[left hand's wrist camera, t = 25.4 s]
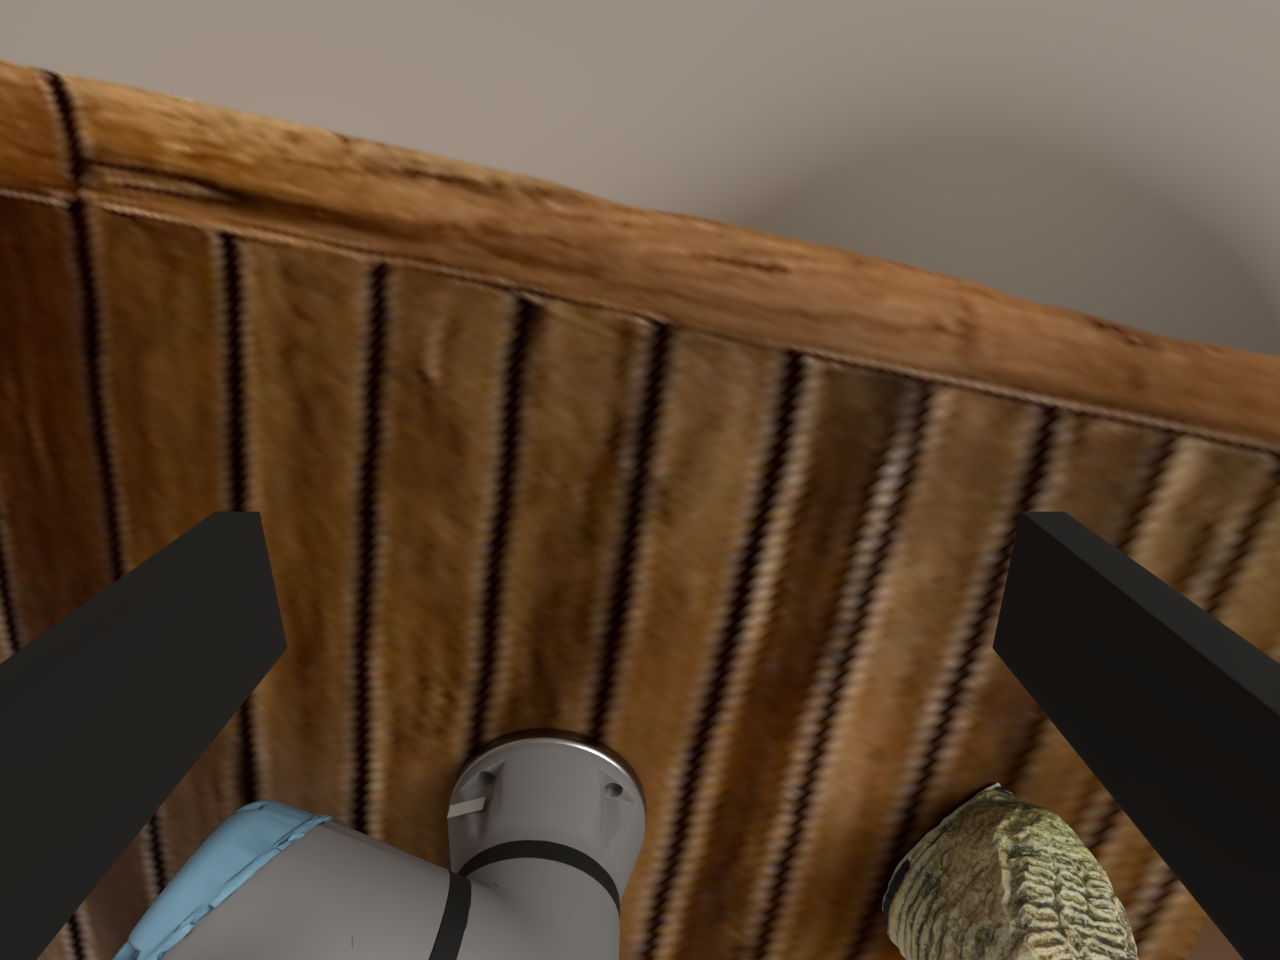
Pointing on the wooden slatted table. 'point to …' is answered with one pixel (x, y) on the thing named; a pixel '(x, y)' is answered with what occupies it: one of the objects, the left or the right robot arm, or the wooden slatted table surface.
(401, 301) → the wooden slatted table surface
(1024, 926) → the fossil
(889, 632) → the wooden slatted table surface
